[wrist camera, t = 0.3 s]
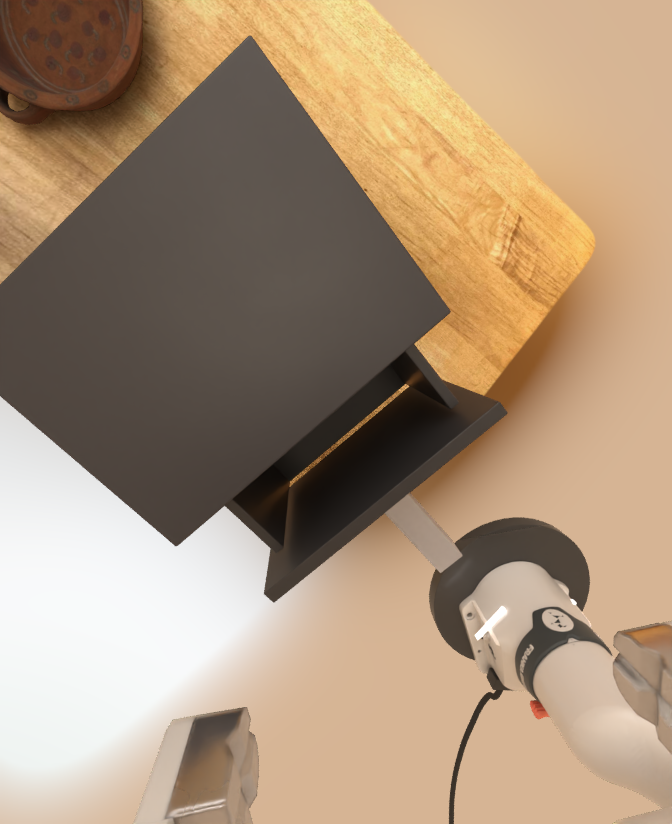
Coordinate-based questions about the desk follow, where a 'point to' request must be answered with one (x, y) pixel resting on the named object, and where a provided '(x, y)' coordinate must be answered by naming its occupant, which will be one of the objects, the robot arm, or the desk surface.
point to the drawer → (365, 472)
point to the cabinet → (209, 302)
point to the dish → (67, 54)
